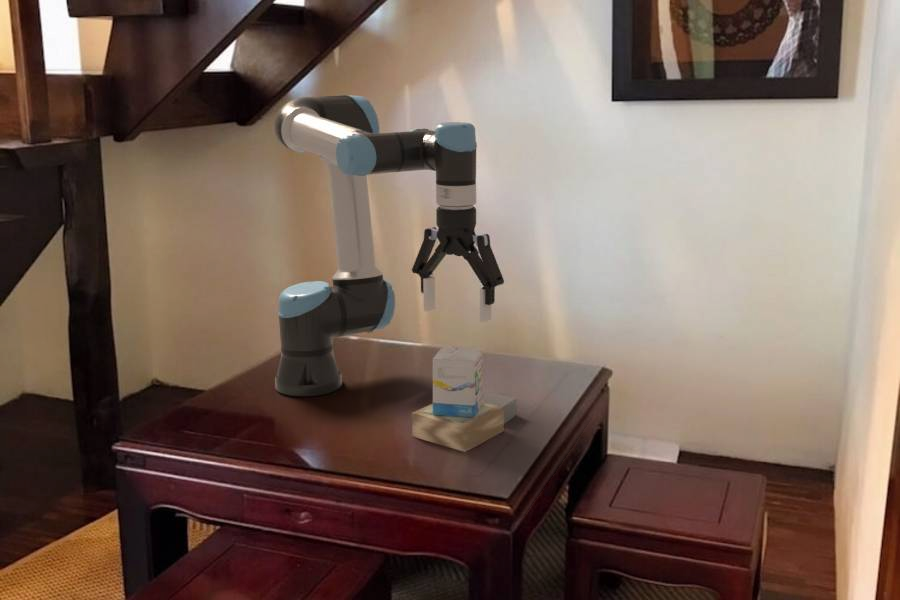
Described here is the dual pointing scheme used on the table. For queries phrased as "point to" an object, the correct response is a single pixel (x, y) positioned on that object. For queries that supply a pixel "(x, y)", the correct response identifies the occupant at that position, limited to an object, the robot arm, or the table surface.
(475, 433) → the pedestal
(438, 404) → the ink box
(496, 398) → the slate block
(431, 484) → the table surface
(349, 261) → the robot arm
